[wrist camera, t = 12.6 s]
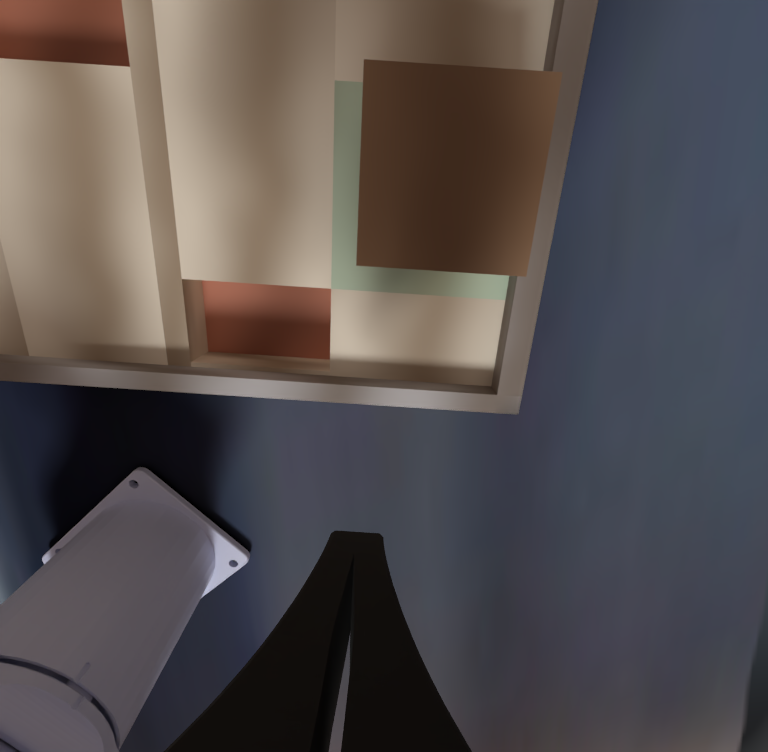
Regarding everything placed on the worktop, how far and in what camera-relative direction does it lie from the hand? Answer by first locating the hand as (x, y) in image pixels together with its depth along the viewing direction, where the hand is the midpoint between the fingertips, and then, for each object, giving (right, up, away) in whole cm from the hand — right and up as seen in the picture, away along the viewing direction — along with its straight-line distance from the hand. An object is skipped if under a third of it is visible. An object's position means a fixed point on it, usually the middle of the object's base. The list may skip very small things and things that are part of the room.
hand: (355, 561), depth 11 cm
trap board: (-9, +13, +6) cm, 17 cm away
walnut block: (+3, +12, +4) cm, 13 cm away
